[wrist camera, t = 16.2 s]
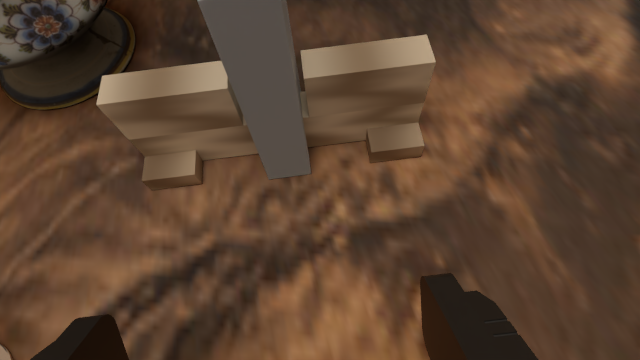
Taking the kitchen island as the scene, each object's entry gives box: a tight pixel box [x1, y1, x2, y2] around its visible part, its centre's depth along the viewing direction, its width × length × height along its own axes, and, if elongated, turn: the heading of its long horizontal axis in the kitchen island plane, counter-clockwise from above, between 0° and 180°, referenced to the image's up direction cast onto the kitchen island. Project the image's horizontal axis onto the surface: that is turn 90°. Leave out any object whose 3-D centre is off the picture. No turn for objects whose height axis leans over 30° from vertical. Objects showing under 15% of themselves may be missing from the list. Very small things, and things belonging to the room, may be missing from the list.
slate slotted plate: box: [198, 0, 311, 179], centre depth 18 cm, size 2×5×12 cm, turn 7°
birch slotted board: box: [96, 35, 436, 190], centre depth 21 cm, size 16×5×6 cm, turn 96°
